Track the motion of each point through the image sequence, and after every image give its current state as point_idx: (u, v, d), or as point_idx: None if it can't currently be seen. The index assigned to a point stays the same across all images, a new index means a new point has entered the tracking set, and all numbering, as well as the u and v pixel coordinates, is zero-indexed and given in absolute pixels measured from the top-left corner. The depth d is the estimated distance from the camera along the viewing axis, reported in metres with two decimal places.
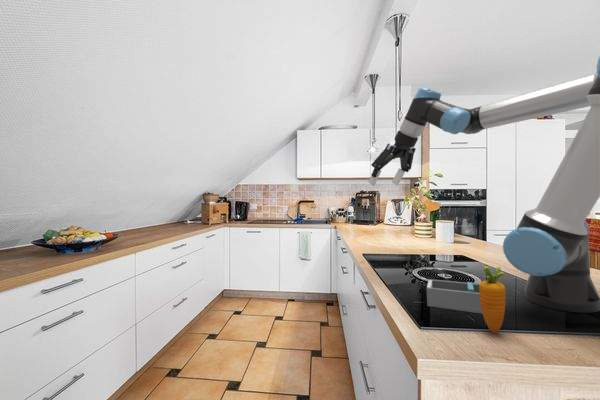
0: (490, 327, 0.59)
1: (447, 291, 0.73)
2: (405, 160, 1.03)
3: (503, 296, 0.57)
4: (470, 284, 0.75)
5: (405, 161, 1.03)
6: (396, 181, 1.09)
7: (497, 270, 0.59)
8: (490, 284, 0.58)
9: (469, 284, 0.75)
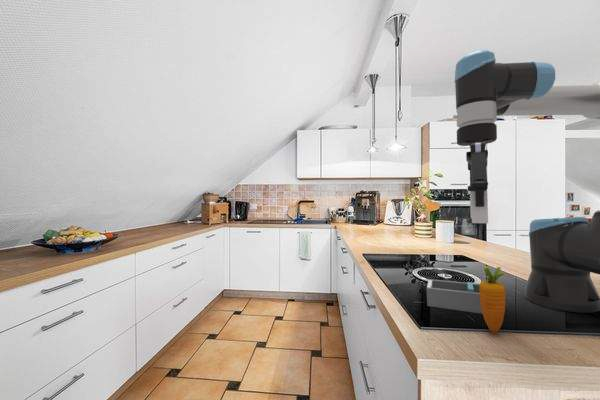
0: (490, 327, 0.59)
1: (447, 291, 0.73)
2: None
3: (503, 296, 0.57)
4: (470, 284, 0.75)
5: None
6: None
7: (497, 270, 0.59)
8: (490, 284, 0.58)
9: (469, 284, 0.75)
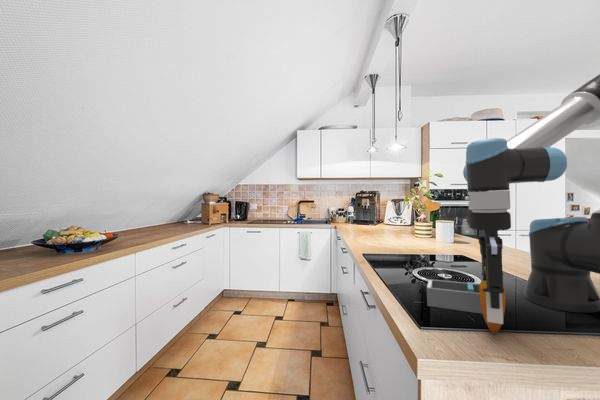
0: (490, 327, 0.59)
1: (447, 291, 0.73)
2: None
3: (503, 296, 0.57)
4: (470, 284, 0.75)
5: None
6: None
7: None
8: None
9: (469, 284, 0.75)
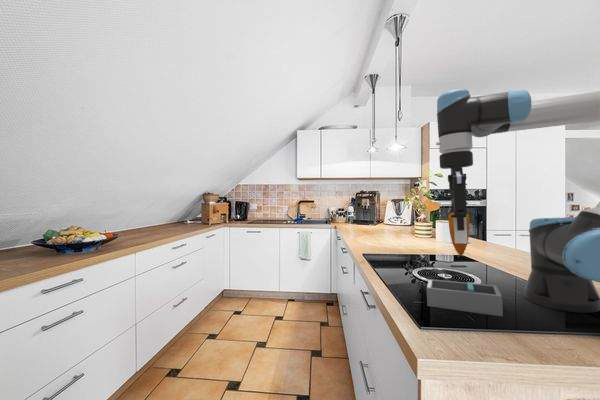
0: (457, 249, 0.70)
1: (447, 291, 0.73)
2: None
3: (467, 221, 0.68)
4: (470, 284, 0.75)
5: None
6: None
7: None
8: None
9: (469, 284, 0.75)
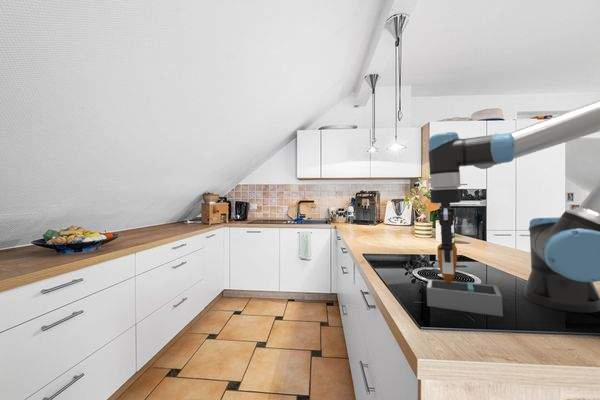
0: (445, 278, 0.76)
1: (447, 291, 0.73)
2: None
3: (454, 253, 0.74)
4: (470, 284, 0.75)
5: None
6: None
7: None
8: None
9: (469, 284, 0.75)
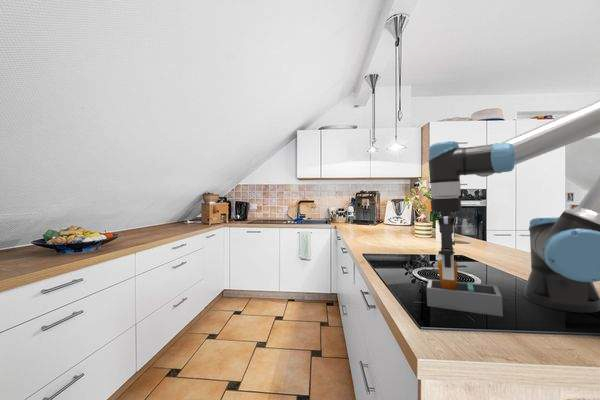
0: None
1: (447, 291, 0.73)
2: None
3: (455, 269, 0.74)
4: (470, 284, 0.75)
5: None
6: None
7: None
8: None
9: (469, 284, 0.75)
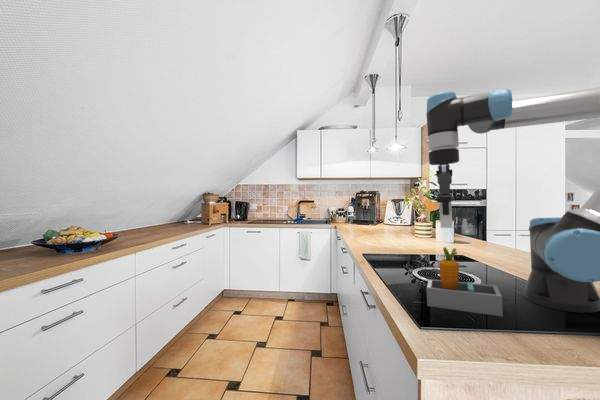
0: None
1: (447, 291, 0.73)
2: None
3: (456, 270, 0.74)
4: (470, 284, 0.75)
5: None
6: None
7: (453, 250, 0.76)
8: (447, 261, 0.75)
9: (469, 284, 0.75)
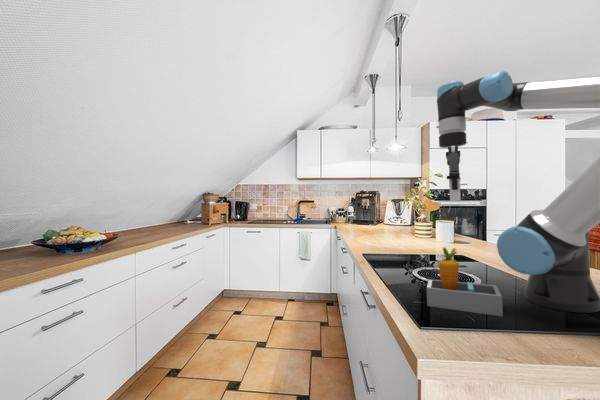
0: None
1: (447, 291, 0.73)
2: None
3: (456, 270, 0.74)
4: (470, 284, 0.75)
5: None
6: None
7: (453, 250, 0.77)
8: (447, 261, 0.75)
9: (469, 284, 0.75)
